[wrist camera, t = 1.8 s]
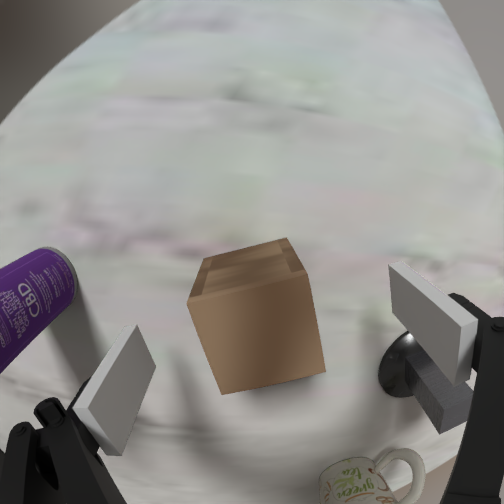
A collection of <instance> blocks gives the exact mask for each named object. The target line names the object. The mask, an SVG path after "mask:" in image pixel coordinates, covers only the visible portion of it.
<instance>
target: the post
mask: <svg viewBox="0 0 504 504" xmlns="http://www.w3.org/2000/svg"><path fill="white" fill-rule="evenodd" d="M378 376H379V381H380V384H381V386H382V387H383V389H384V390H385V392H387V393H388V394H389V395H391V396H395V397H409V396H413V395H414V396H415V397H416V399H417V400H418V402H419V403H420V405H421V406H422V408H423V410H424V411H425V413H426V414H427V416H428V417H429V419H430V420H431V422H432V424H433V425H434V427H435V428H436V430H437V431H438V433H439V434H441V433H443V432H446V431H448V430H450V429H452V428H454V427H456V426H458V425H460V424H462V423H464V422H465V421H467V419H468V415H469V411H470V406H471V402H472V397H473V390H472V389H471V388H470V387H469V386H468V385H467V383H466V382H463V383H461V384H459V385H457V386H455V387H454V386H453V385H452V384H451V382H450V381H449V380H448V379H447V377H446V376H445V375H444V374H443V372H442V371H441V370H440V369H439V367H438V366H437V365H436V364H435V362H434V361H433V360H432V359H431V357H430V356H429V355H428V354H427V353H426V351H425V350H424V349H423V348H422V347H421V345H420V344H419V343H418V342H417V341H416V339H415V338H414V337H413V336H412V335H411V333H410V332H409V331H407V332H405V333H404V334H402V335H401V336H400V337H399V338H397V339H396V340H395V341H394V342H393V343H392V345H391V346H390V347H389V348H388V350H387V351H386V353H385V354H384V356H383V358H382V361H381V363H380V366H379V374H378Z"/></svg>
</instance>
